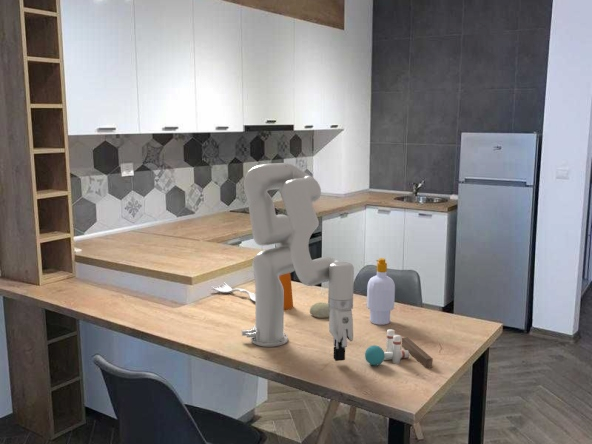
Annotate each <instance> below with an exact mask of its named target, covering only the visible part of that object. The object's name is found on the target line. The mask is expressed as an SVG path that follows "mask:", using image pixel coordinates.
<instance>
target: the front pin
mask: <svg viewBox="0 0 592 444" xmlns="http://www.w3.org/2000/svg"><path fill="white" fill-rule="evenodd" d="M384 355H385V357H384V360H383V361H386V360H392V359H393V351H392V352H386V351H384ZM409 357H410V353H409V351H408V350H405V349H403V350H401V354H400V360H401V359H408V358H409Z"/></svg>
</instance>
